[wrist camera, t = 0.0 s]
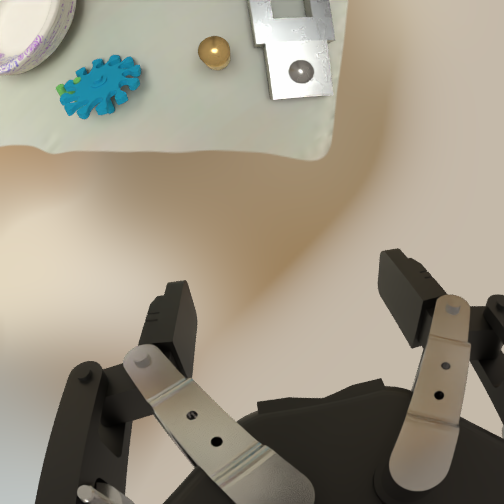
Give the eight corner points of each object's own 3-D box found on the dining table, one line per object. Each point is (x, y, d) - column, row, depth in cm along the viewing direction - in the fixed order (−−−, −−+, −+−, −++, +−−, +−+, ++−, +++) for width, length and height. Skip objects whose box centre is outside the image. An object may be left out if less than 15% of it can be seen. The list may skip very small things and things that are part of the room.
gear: (152, 50, 30) (118, 111, 27) (160, 84, 36) (132, 145, 33) (75, 54, 30) (37, 112, 27) (88, 84, 36) (56, 140, 33)
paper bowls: (77, -43, 23) (52, -61, 16) (96, 42, 30) (68, 34, 23) (-6, 11, 24) (-38, 6, 17) (9, 92, 31) (-25, 98, 24)
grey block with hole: (235, -66, 24) (236, -77, 21) (306, -68, 24) (313, -79, 21) (261, 99, 36) (264, 100, 33) (333, 94, 36) (343, 94, 33)
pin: (203, 49, 32) (196, 39, 25) (228, 45, 32) (227, 33, 25) (206, 72, 34) (200, 67, 27) (231, 68, 34) (231, 62, 27)
